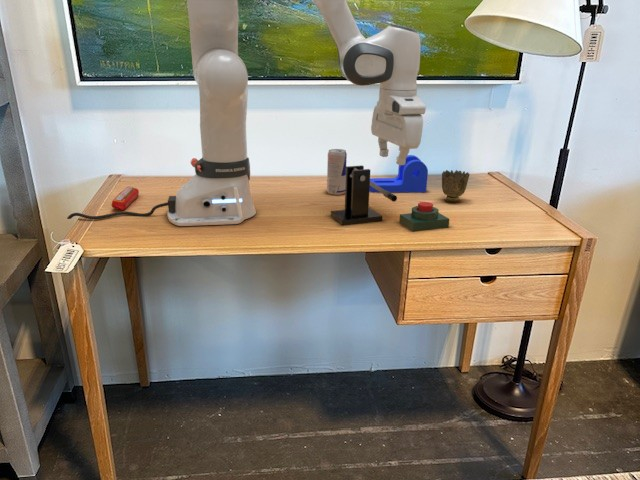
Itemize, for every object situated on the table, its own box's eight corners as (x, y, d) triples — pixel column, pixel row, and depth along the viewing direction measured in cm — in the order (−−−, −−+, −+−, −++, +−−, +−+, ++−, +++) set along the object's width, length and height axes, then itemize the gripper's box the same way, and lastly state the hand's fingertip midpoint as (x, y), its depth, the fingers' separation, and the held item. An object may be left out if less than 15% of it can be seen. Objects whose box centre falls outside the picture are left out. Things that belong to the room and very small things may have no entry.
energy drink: (348, 191, 172) (349, 150, 166) (341, 196, 167) (342, 153, 162) (331, 189, 174) (332, 148, 168) (324, 193, 169) (324, 151, 164)
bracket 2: (419, 184, 180) (422, 155, 175) (425, 192, 172) (429, 161, 168) (361, 185, 178) (362, 155, 174) (365, 192, 171) (367, 161, 167)
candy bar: (124, 212, 151) (122, 201, 150) (110, 212, 151) (108, 200, 150) (141, 195, 166) (139, 184, 164) (128, 195, 166) (126, 184, 164)
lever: (385, 198, 153) (390, 190, 152) (394, 204, 148) (399, 195, 148) (347, 174, 146) (352, 166, 145) (354, 179, 142) (360, 170, 141)
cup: (443, 196, 169) (446, 168, 165) (468, 199, 166) (472, 171, 162) (435, 202, 163) (438, 173, 159) (461, 206, 160) (465, 177, 156)
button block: (412, 231, 141) (413, 215, 139) (399, 222, 147) (400, 207, 145) (448, 227, 144) (450, 211, 142) (434, 218, 150) (435, 203, 148)
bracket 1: (369, 212, 154) (371, 163, 148) (382, 221, 148) (385, 170, 142) (330, 215, 151) (331, 166, 145) (341, 225, 144) (343, 173, 138)
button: (422, 213, 142) (422, 206, 141) (415, 209, 145) (415, 202, 144) (435, 212, 143) (435, 205, 142) (427, 208, 146) (428, 201, 145)
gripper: (367, 96, 147) (363, 152, 153) (404, 107, 130) (398, 170, 136) (389, 96, 149) (385, 151, 155) (429, 107, 132) (422, 169, 138)
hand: (391, 160), depth 146 cm, fingers open, 8 cm apart
